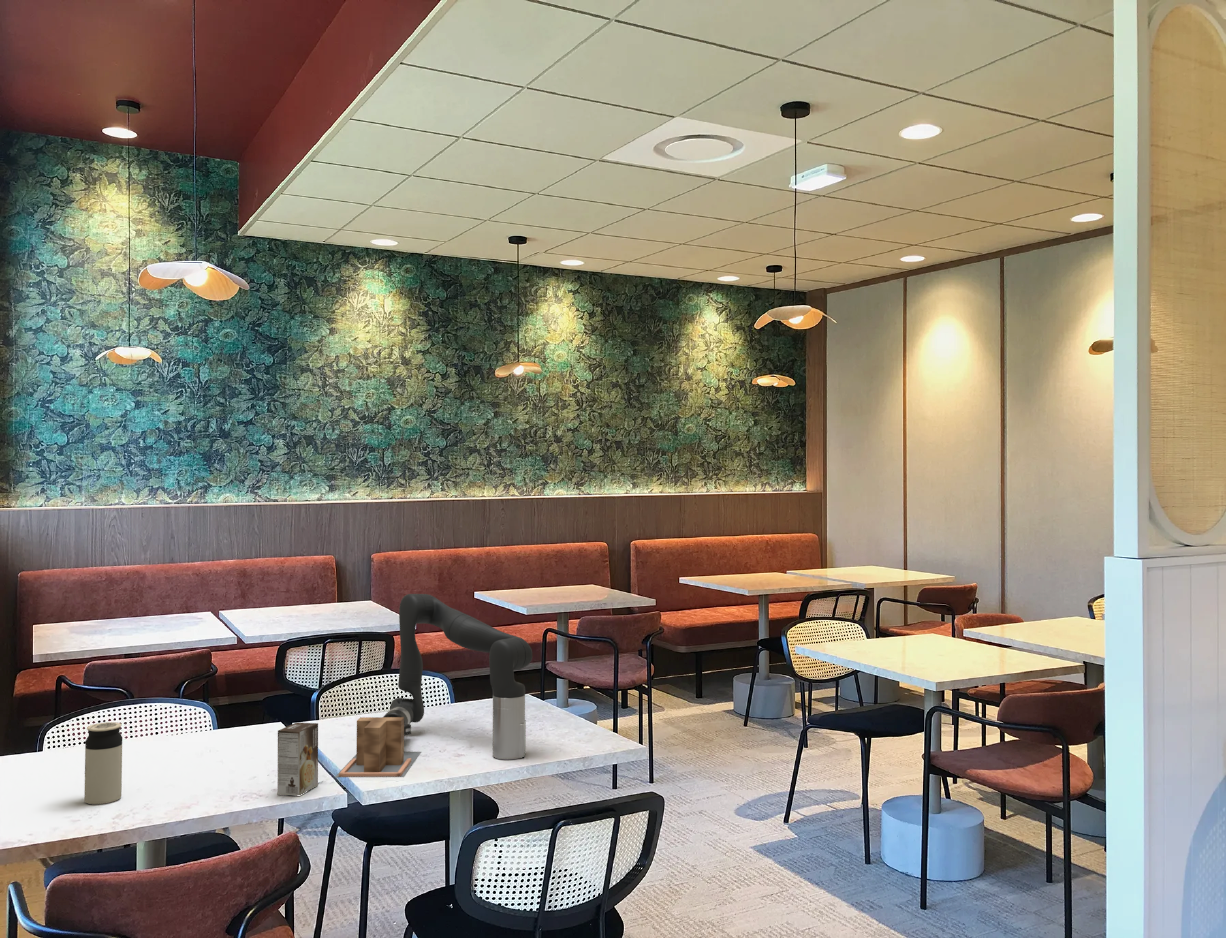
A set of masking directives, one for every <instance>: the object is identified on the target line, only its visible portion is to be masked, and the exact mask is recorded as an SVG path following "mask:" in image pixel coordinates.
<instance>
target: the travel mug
mask: <svg viewBox="0 0 1226 938" xmlns="http://www.w3.org/2000/svg"><path fill="white" fill-rule="evenodd" d="M121 727H122V723H120V722H115V721H114V722H112V721H111V722H110V721H108V722H99V723H94V724H90V725H88V726H87V727H86V730H87V733H88V736H87V738H86V739H85V742H84V744H85V746H84V747H85V748H84V749H85V751H84V795H83V796H84V797H83V798H84V803H86V804H89V805H94V806H96V805H98V806H99V805H107V804H110V803H114V802H116V801H118V800H119V799H121V798H122V788H123V787H122V786H123V785H122V783H123V781H122V779H123V777H122V776H123V736H122V734H121V733H120V730H121Z"/></svg>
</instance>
